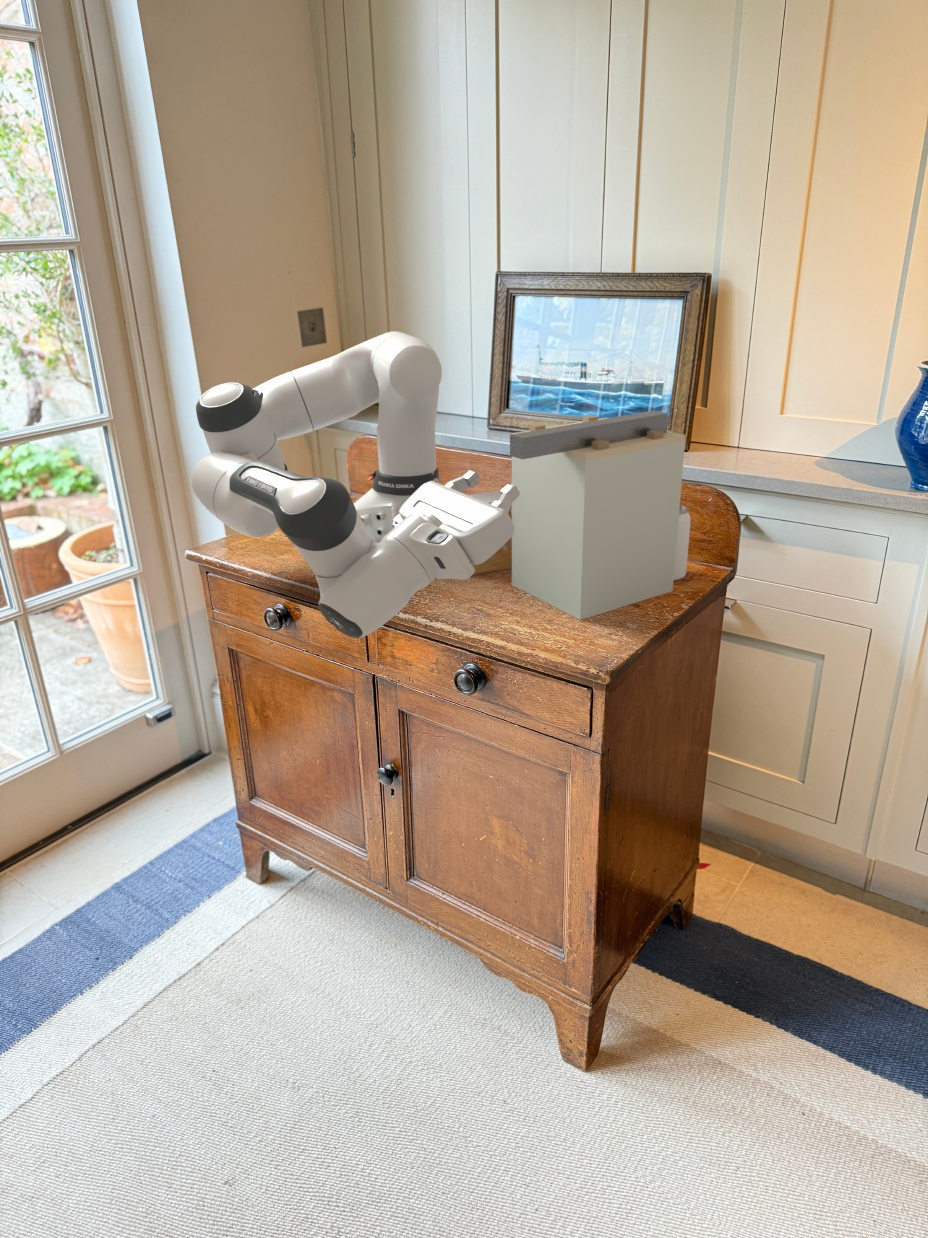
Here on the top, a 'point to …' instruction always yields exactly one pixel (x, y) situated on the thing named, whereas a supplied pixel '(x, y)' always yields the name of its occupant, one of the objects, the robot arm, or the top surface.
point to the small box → (504, 553)
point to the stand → (598, 522)
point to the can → (682, 543)
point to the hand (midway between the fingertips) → (495, 481)
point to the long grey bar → (585, 434)
